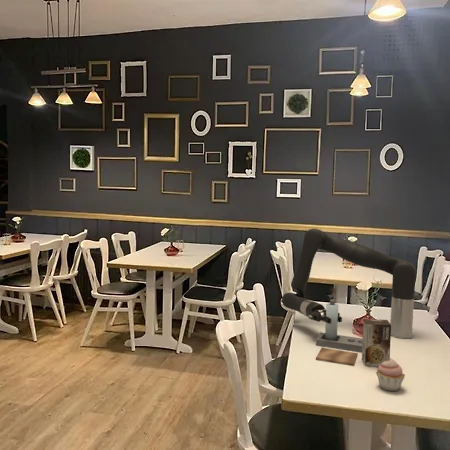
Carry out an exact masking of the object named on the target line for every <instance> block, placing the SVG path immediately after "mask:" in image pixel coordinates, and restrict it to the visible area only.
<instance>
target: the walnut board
mask: <svg viewBox="0 0 450 450" xmlns="http://www.w3.org/2000/svg"><path fill="white" fill-rule="evenodd" d="M358 353H359V352H354V351H348V350H341V349H338V350H337V349H335V348H328V347H321V348H320V350H319V352H318V353H317V356H316V357H315V360H316V361H322V362H329V363H334V364H340V365H345V366H346V365H347V366H351V367H354V366H355V364H356V360H357V357H358Z"/></svg>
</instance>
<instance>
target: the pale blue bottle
mask: <svg viewBox="0 0 450 450" xmlns="http://www.w3.org/2000/svg"><path fill="white" fill-rule="evenodd" d="M325 309H326V316H327V317H329V318H331V323H330V324H329V323H327V322H325V332H324V333H325V338H327V339H337V335H338V323H339V322H338V312H339V304H337V303H336V300H335V299H329V303H328V302H327V303H326V308H325Z"/></svg>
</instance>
